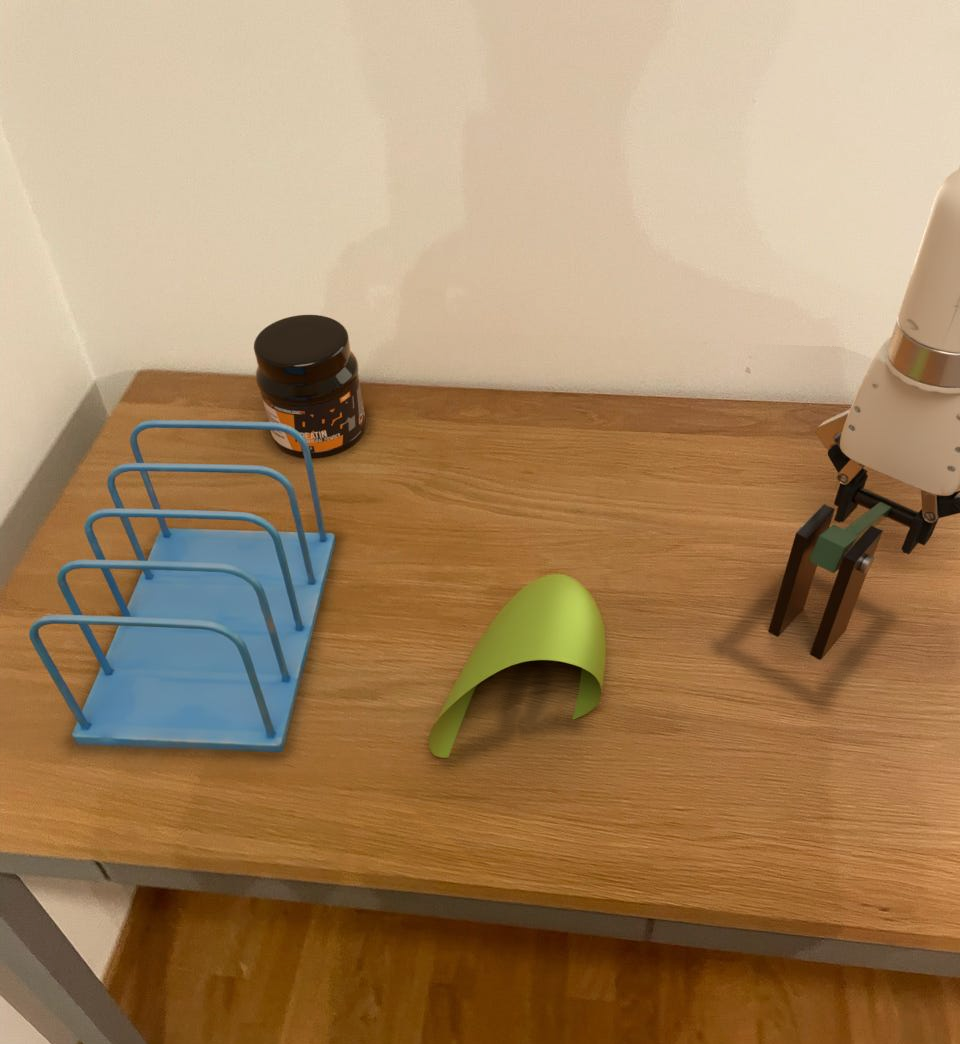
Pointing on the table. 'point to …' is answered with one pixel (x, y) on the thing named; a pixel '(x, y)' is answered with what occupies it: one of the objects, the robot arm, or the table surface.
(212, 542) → the file sorter
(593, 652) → the curved green shell
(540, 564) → the table surface
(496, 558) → the table surface
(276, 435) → the supplement container
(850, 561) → the bracket
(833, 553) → the lever
